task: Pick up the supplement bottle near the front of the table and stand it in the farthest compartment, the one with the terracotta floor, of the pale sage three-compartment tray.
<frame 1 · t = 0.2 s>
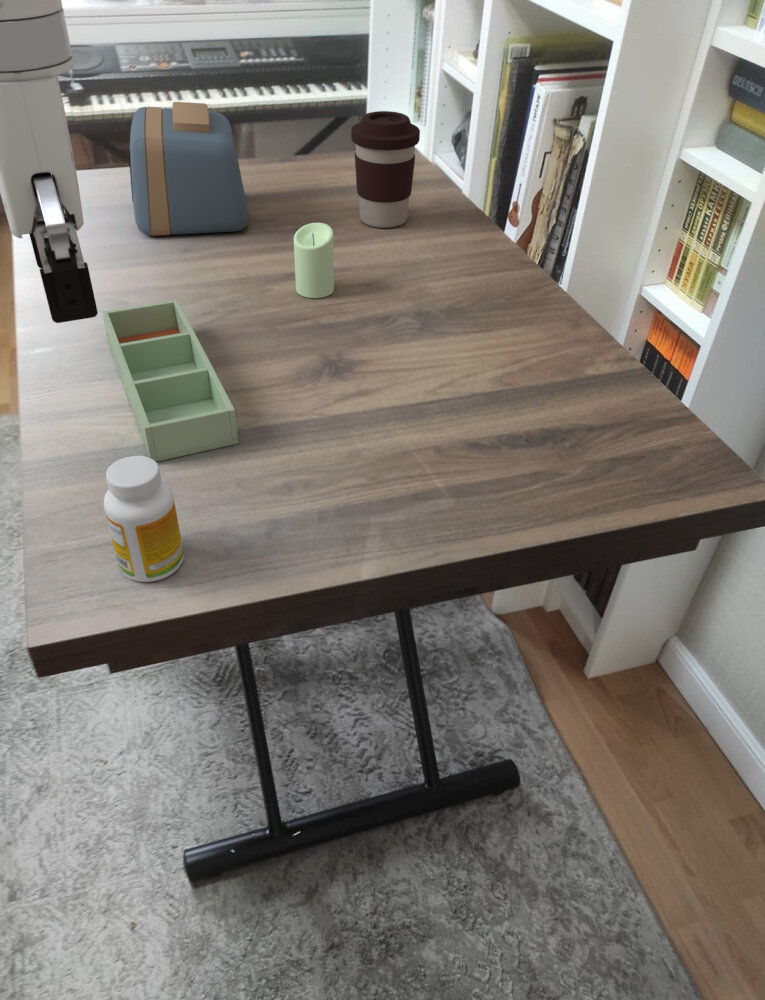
hand: (66, 290, 64), 20 cm above the table, tool pointing down, fingers open, 9 cm apart
supplement bottle: (152, 562, 70), on the table
tray: (168, 389, 91), on the table
candle: (315, 291, 110), on the table
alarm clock: (193, 218, 128), on the table
coffee cup: (383, 221, 129), on the table
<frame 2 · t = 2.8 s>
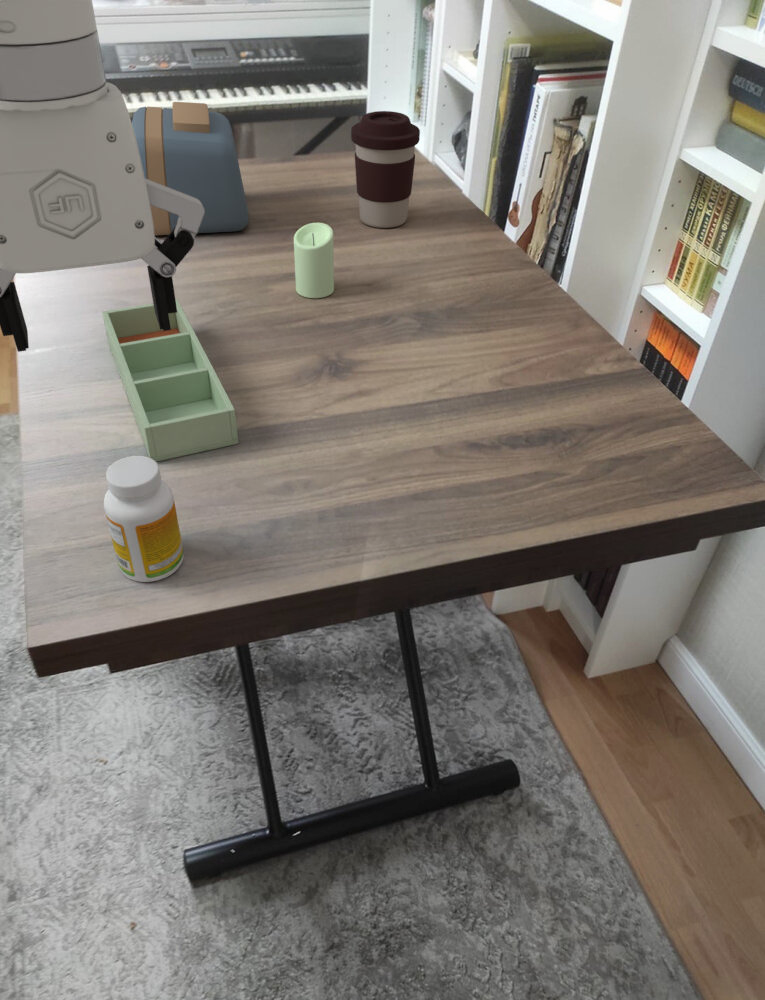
hand: (94, 331, 59), 20 cm above the table, tool pointing down, fingers open, 9 cm apart
nothing on the table moved.
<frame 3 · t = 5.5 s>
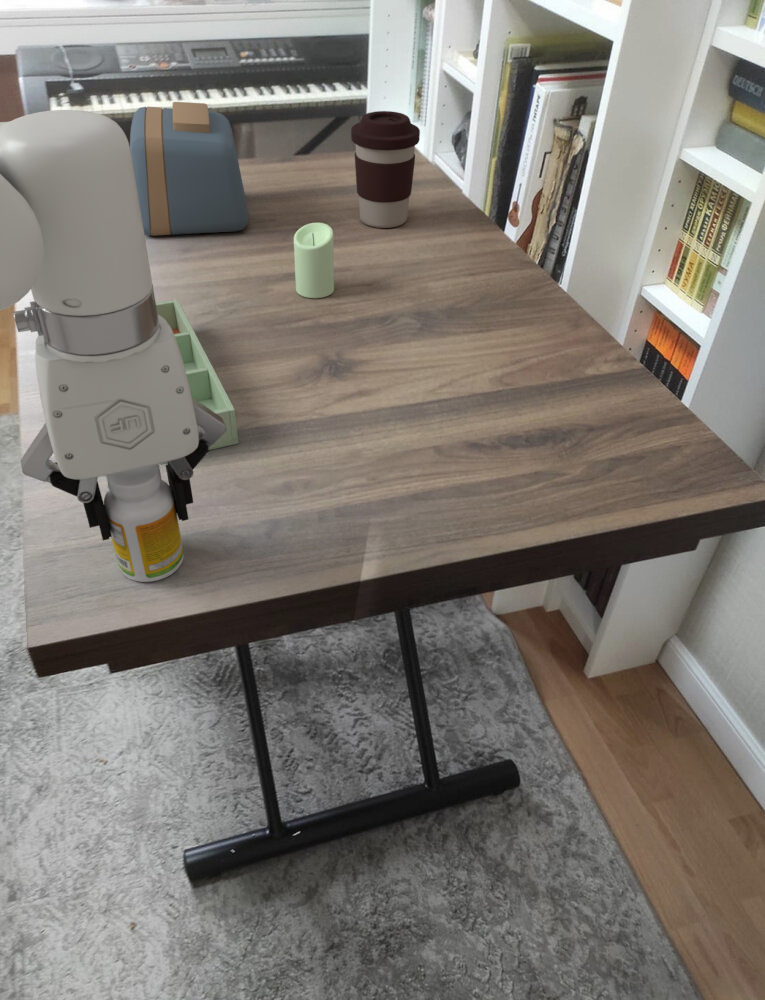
hand: (142, 517, 67), 5 cm above the table, tool pointing down, fingers closed on supplement bottle, 5 cm apart
supplement bottle: (152, 562, 70), on the table, touching gripper
everything else where it was.
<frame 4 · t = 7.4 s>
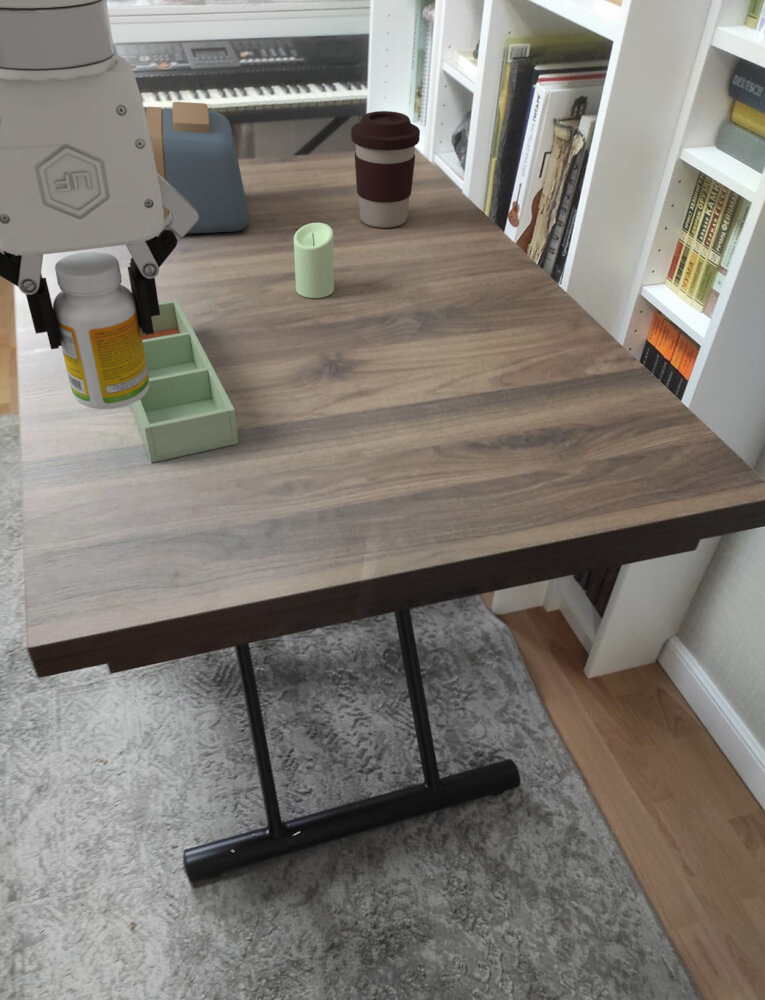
hand: (100, 330, 57), 21 cm above the table, tool pointing down, fingers closed on supplement bottle, 5 cm apart
supplement bottle: (112, 393, 60), point 16 cm above the table, touching gripper
everything else where it was.
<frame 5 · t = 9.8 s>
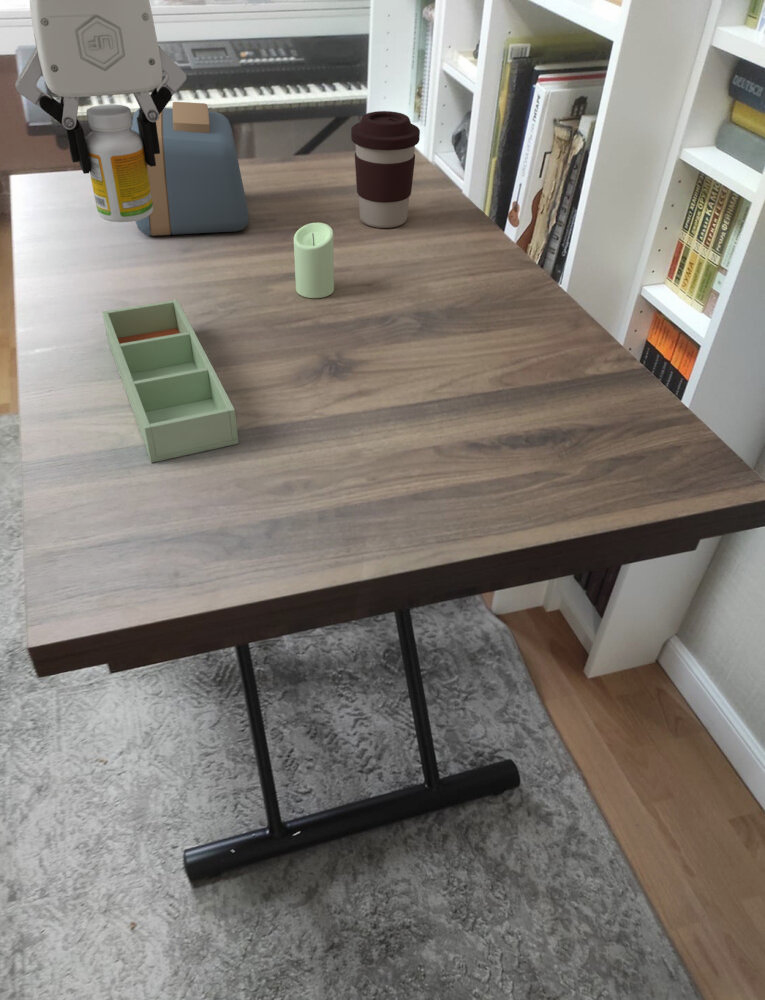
hand: (117, 163, 80), 22 cm above the table, tool pointing down, fingers closed on supplement bottle, 5 cm apart
supplement bottle: (126, 215, 84), point 17 cm above the table, touching gripper
everything else where it was.
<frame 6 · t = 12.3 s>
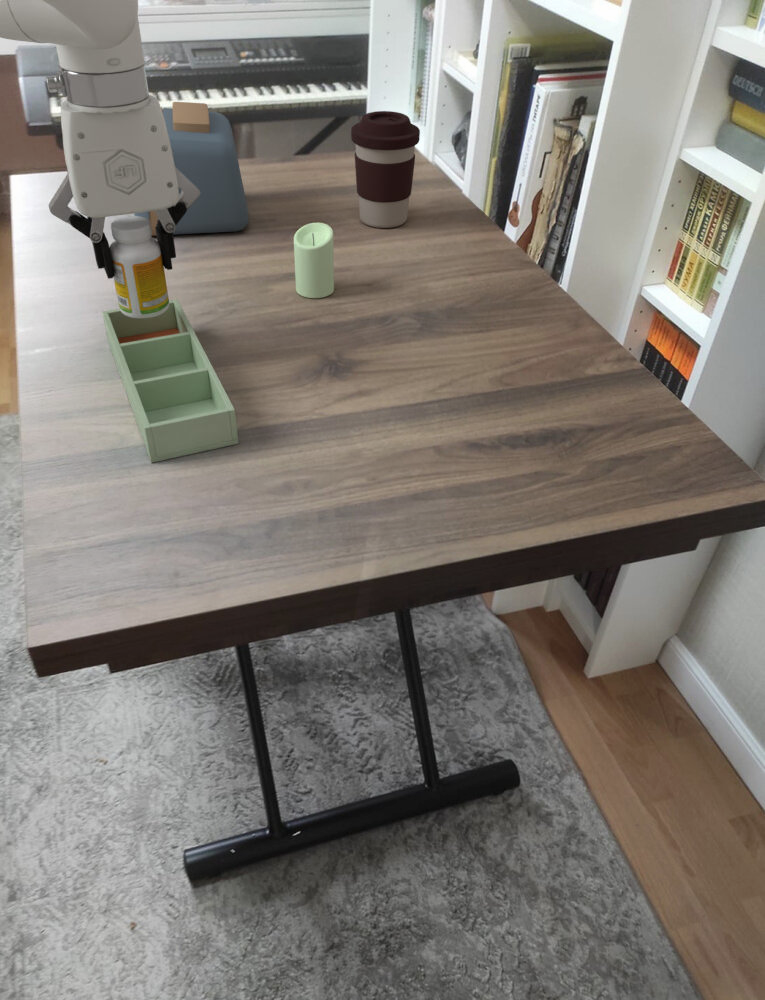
hand: (138, 267, 89), 11 cm above the table, tool pointing down, fingers closed on supplement bottle, 5 cm apart
supplement bottle: (145, 310, 93), point 6 cm above the table, touching gripper
everything else where it was.
when the fingers open (6 cm above the table, at t = 14.1 s): supplement bottle stays where it is, resting on tray.
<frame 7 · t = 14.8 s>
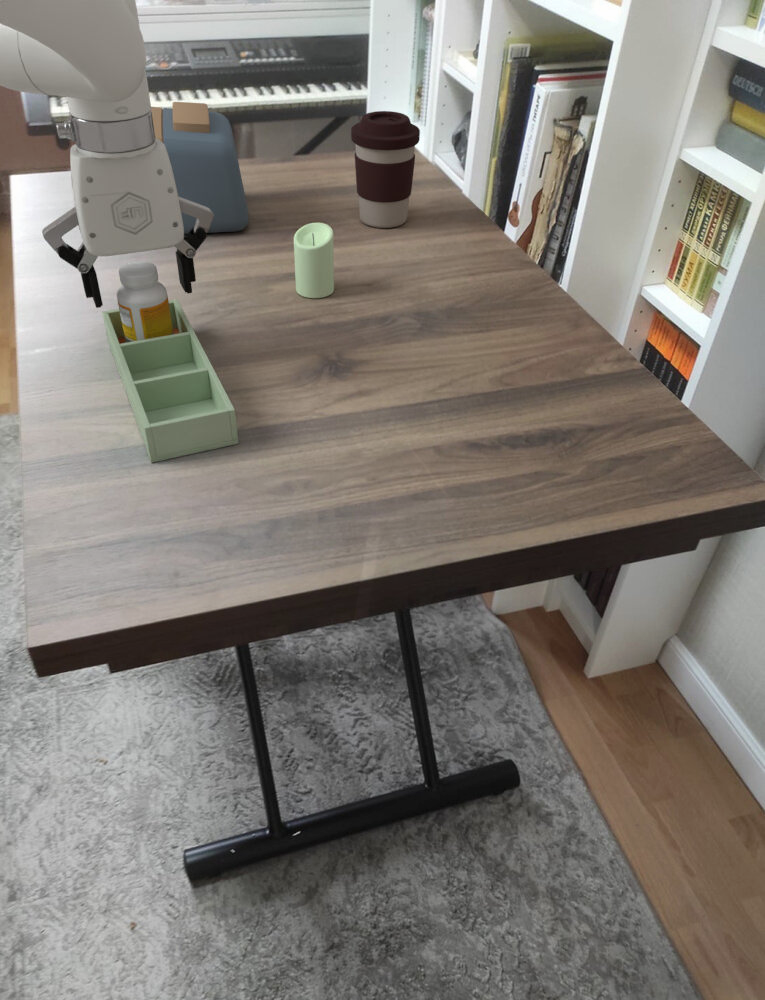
hand: (142, 295, 91), 7 cm above the table, tool pointing down, fingers open, 9 cm apart
supplement bottle: (151, 350, 96), point 1 cm above the table, touching tray
everything else where it was.
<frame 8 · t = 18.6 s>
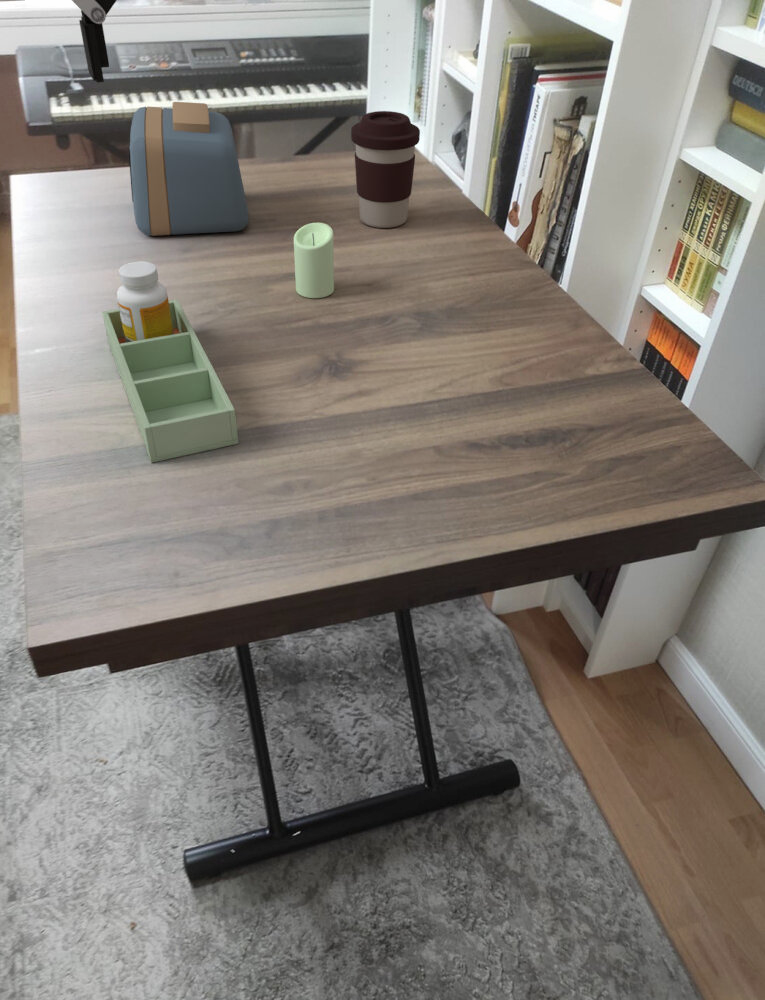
hand: (32, 83, 64), 32 cm above the table, tool pointing down, fingers open, 9 cm apart
nothing on the table moved.
at the end: supplement bottle 0.1 cm from the target spot in the tray, point 0.6 cm above the tray's base; supplement bottle tilted 0°; the gripper is holding nothing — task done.
